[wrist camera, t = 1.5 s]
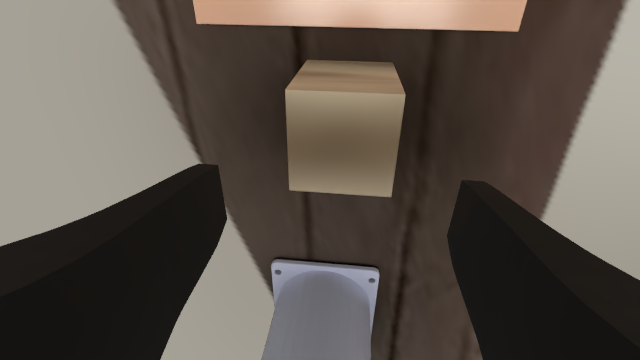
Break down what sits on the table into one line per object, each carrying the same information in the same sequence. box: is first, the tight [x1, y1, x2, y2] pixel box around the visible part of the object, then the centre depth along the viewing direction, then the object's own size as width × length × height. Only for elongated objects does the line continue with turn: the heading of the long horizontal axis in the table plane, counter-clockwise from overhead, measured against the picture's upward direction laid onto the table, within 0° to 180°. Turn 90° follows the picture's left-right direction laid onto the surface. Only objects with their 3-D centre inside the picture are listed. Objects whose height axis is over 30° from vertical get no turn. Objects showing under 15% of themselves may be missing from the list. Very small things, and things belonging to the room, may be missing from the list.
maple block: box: [285, 60, 406, 197], centre depth 16 cm, size 4×4×6 cm
